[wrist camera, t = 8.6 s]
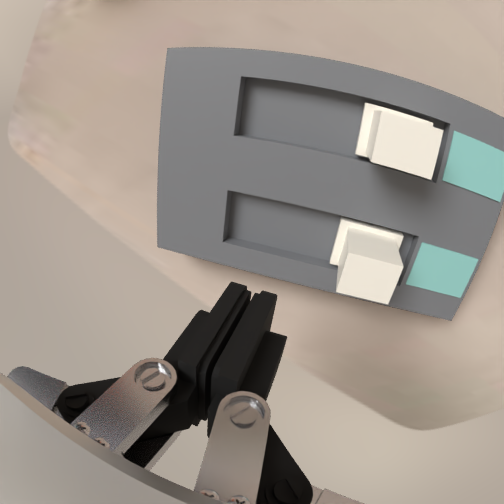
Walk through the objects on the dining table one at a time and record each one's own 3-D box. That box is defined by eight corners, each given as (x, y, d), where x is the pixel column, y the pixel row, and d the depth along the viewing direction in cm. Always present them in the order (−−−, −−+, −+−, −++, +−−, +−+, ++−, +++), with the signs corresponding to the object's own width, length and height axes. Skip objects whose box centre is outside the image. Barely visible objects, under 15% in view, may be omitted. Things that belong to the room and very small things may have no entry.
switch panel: (501, 123, 14) (523, 127, 12) (442, 297, 21) (451, 321, 18) (189, 53, 18) (166, 47, 16) (176, 231, 25) (156, 247, 22)
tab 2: (401, 231, 18) (414, 264, 14) (387, 272, 19) (394, 310, 16) (341, 215, 19) (340, 244, 15) (330, 257, 20) (325, 294, 16)
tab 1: (429, 122, 15) (454, 127, 11) (418, 170, 16) (438, 189, 12) (364, 102, 15) (371, 101, 12) (355, 152, 17) (358, 165, 13)
